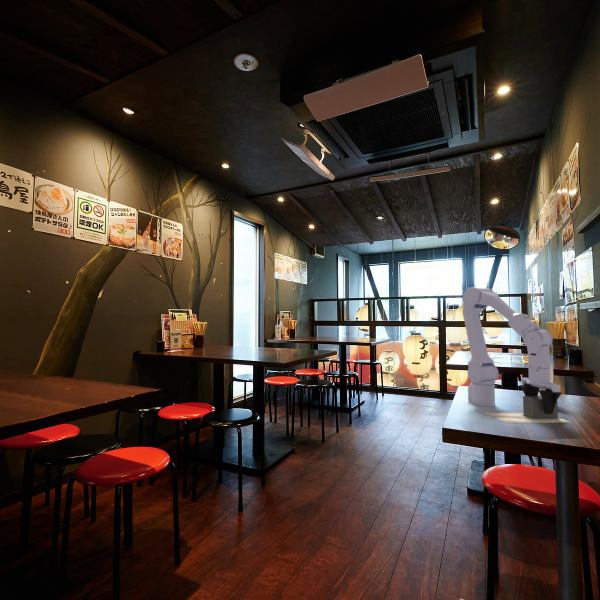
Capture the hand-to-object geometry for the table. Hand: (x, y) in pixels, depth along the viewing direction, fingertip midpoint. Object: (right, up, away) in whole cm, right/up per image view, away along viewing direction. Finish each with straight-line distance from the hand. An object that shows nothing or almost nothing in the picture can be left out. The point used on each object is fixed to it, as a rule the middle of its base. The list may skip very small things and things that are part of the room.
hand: (540, 410), depth 113 cm
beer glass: (+19, -5, +26) cm, 32 cm away
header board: (-5, -3, 0) cm, 6 cm away
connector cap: (0, -2, 0) cm, 2 cm away
